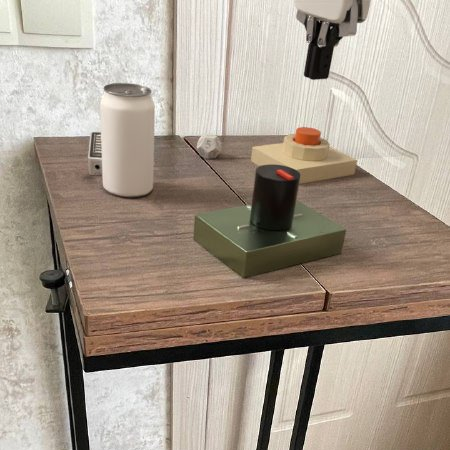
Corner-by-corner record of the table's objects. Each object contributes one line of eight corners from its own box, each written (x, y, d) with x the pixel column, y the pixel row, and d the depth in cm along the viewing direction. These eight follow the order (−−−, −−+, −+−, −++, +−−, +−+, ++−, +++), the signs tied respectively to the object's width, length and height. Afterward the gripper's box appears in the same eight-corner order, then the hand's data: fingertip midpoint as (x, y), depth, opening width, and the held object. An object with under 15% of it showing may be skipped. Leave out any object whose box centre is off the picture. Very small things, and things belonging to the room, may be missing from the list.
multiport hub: (121, 149, 93) (121, 133, 92) (122, 176, 85) (121, 159, 83) (91, 147, 92) (90, 131, 91) (88, 175, 84) (87, 157, 83)
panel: (287, 219, 79) (291, 195, 77) (341, 253, 72) (347, 227, 70) (193, 239, 72) (194, 212, 70) (243, 278, 66) (246, 250, 64)
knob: (241, 215, 71) (247, 164, 67) (276, 210, 73) (283, 159, 69) (265, 233, 68) (273, 180, 64) (300, 226, 70) (310, 174, 66)
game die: (222, 160, 93) (224, 140, 91) (198, 160, 92) (199, 139, 90) (217, 152, 96) (219, 132, 94) (193, 152, 95) (195, 131, 93)
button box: (311, 153, 100) (315, 126, 97) (354, 174, 94) (360, 147, 91) (250, 161, 94) (253, 134, 91) (292, 185, 88) (296, 156, 85)
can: (162, 187, 83) (165, 89, 75) (135, 202, 78) (135, 100, 71) (121, 175, 85) (120, 79, 77) (92, 189, 80) (88, 88, 73)
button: (308, 138, 93) (310, 126, 92) (323, 146, 91) (326, 133, 90) (289, 140, 92) (291, 128, 91) (305, 148, 90) (307, 136, 88)
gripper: (413, -82, 72) (373, 91, 83) (327, -95, 81) (302, 63, 92) (366, -87, 68) (331, 94, 80) (282, -100, 77) (261, 65, 89)
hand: (315, 77), depth 86 cm, fingers closed
